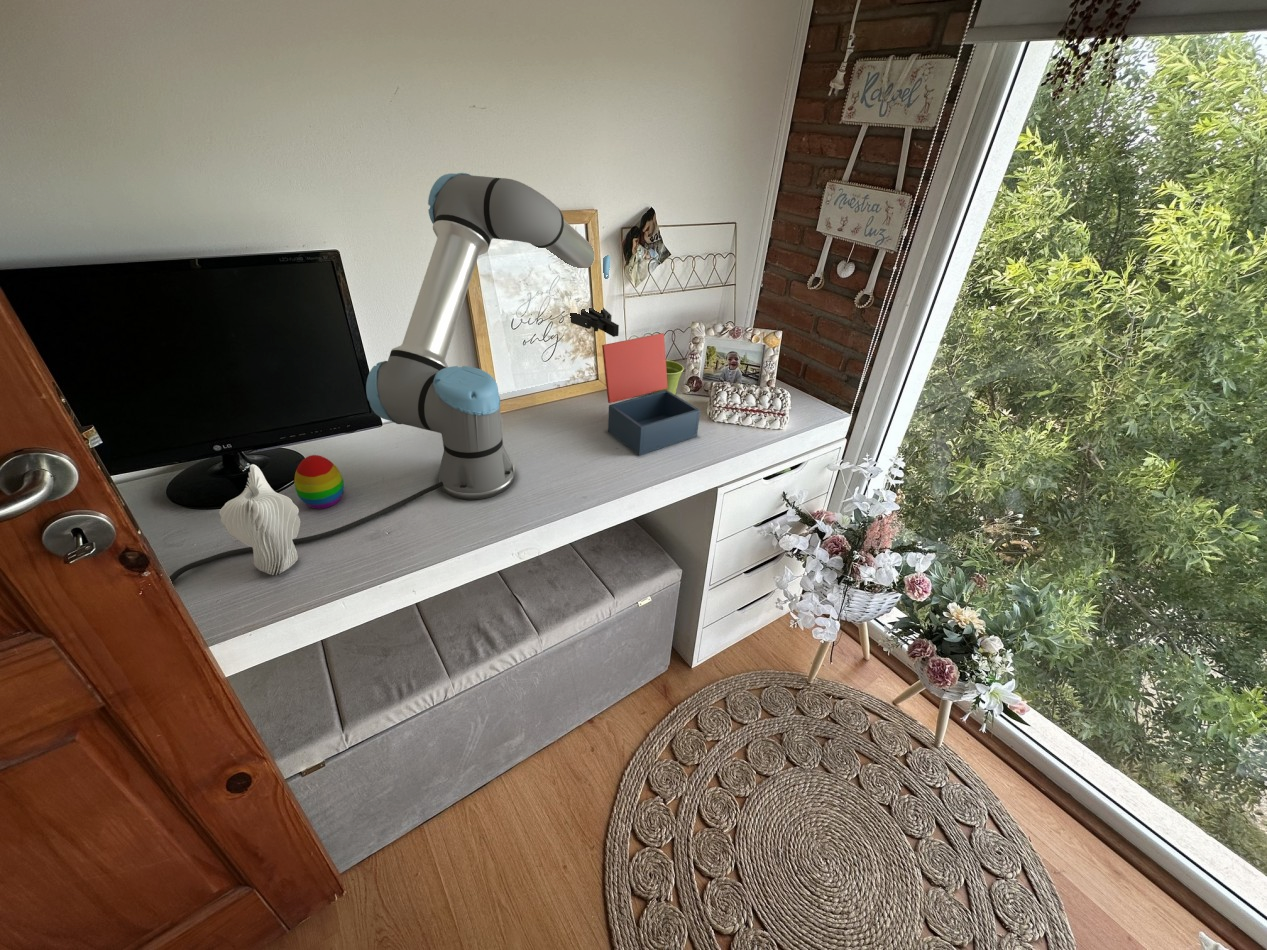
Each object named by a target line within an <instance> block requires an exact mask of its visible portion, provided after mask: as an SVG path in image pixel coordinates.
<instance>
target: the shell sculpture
mask: <svg viewBox="0 0 1267 950" xmlns="http://www.w3.org/2000/svg"><path fill="white" fill-rule="evenodd" d="M247 474H248V477H247V481H246V485H245V488H244V490H243V491H242V492H241V493H240V494H239V495H238V496H236V497H234V498H232V499H230V500H227V502H225V503H224V505H223V506H222V507H221V509H220V510H219V511H218V514H219V516H220V517H221V518H220V523H221V524H222V525H223V527H225V529H226V531H227V533H228V534H229V535H231V536H232V537H233V538H234V539H236V540H238V541H239V542H241V543H242V544H244V545H246V546H247V547H252V548H253V552H252V553H253V554H252V555H253V564H254V567H255V568H256V569H257V570H258V571H260V572H263V573H266V574H267V575H270V576H271V575H272V576H274V575H275V576H277V575H278V574H279V575H281V574H282V573H284V572H286V571H287V570H288V569H290V568H291V567H293V565H294V564H296V562H297V561H298V558H299V556H298V552H297V549H296V546H295V544H293V541H292V539H297V536H298V534H299V531H300V528H301V527H300V526H301V519H300V516H299V511H300V509H299V508H298V506H297V505H296V504H295V503H294V502H293V500H292V499H291V498H290V497H288V496H286V495H284V494H281V493H278V492H276V491H275V490H274V489H273V488H272V487H271V485H270V484H269V483H268V481H267V479H266V477H265V475H264V473H263V471H262V470H261V469H260V467H259V466H257V465H256V464H254V463H251V464H250V465H249V471H248V473H247Z"/></svg>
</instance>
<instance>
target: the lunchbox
mask: <svg viewBox="0 0 1267 950" xmlns="http://www.w3.org/2000/svg"><path fill="white" fill-rule="evenodd" d="M700 417H701V409H699V408H698V407H695V406H694V405H692V404H691V403H689V402H688V401H686V400H684V399H683V398H681V397H680V396H678V395H676V394H675V395H674V394H673V393H671V392H669V391H668V390H664V391H660V392H657V393H653V392H652V393H648V394H644V395H640V396H637V397H633V398H629V399H625V400H621V401H618V402H614V403H610V404H608V423H607V425H608V426H607V432H608V433H609V434H610V435H612V436H613V437H614V438H616V439H617V440H618V441H619V442H621V443H622V444H623V445H625V446H626V447H627V448H629V450H631V451H632V452H634V453H635V454H636V455H638V456H642V455H645V454H648V453H651V452H655V451H657V450H658V451H659V450H660V449H664V448H668V447H670V446H673V445H676V444H679V443H682V442H685V441H688V440H691V439H694V438H697V437H698V431H699V424H700Z"/></svg>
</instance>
